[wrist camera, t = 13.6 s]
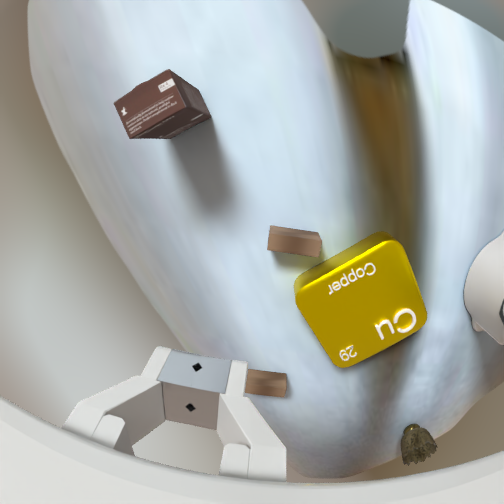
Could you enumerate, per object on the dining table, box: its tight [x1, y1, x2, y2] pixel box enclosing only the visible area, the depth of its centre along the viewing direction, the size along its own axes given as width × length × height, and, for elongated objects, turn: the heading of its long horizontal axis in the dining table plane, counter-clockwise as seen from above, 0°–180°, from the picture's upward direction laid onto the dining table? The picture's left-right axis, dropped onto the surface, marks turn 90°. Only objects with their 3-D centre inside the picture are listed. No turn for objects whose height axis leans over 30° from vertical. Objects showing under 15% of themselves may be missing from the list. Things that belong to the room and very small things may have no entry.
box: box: [114, 69, 211, 139], centre depth 28 cm, size 6×4×12 cm
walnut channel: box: [245, 226, 322, 397], centre depth 40 cm, size 6×25×4 cm, turn 173°
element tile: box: [294, 231, 427, 368], centre depth 38 cm, size 15×15×5 cm
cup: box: [401, 424, 437, 465], centre depth 45 cm, size 8×7×8 cm
